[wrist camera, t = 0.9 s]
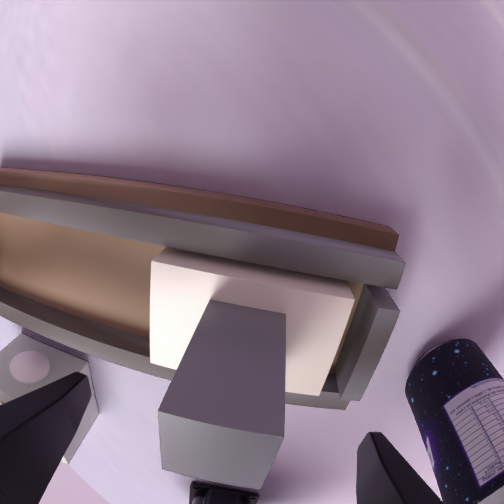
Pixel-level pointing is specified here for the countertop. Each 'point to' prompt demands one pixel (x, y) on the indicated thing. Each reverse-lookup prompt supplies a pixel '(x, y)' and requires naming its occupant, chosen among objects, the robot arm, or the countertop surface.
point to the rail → (186, 238)
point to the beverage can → (461, 421)
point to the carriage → (237, 358)
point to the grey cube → (42, 377)
